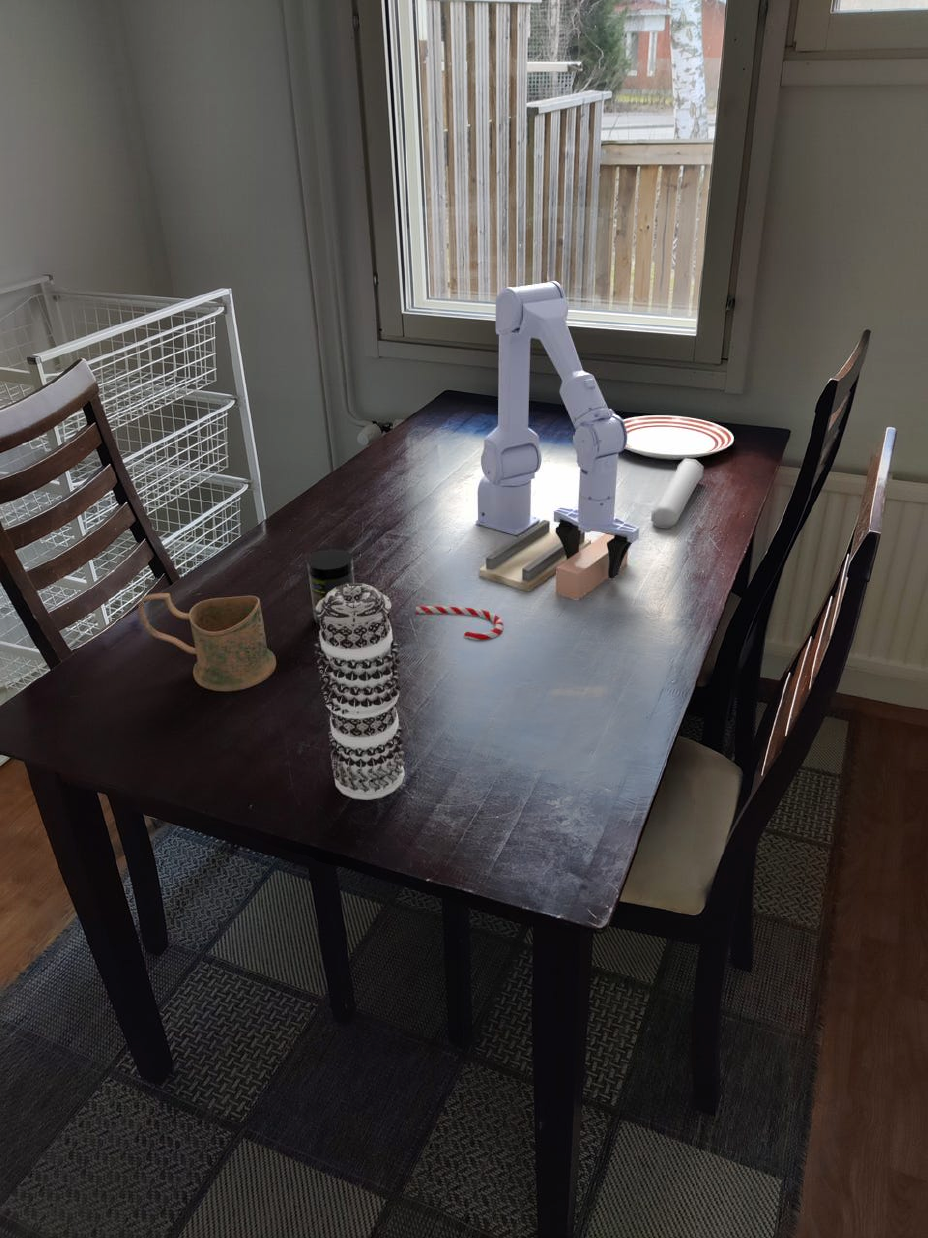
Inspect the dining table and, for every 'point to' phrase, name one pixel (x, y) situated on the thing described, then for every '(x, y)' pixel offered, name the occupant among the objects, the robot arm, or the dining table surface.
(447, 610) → the candy cane
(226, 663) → the mug
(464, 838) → the dining table surface
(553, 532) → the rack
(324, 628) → the decorative candle
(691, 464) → the tube
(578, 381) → the robot arm
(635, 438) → the dinner plate
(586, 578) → the clay block
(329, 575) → the supplement container
